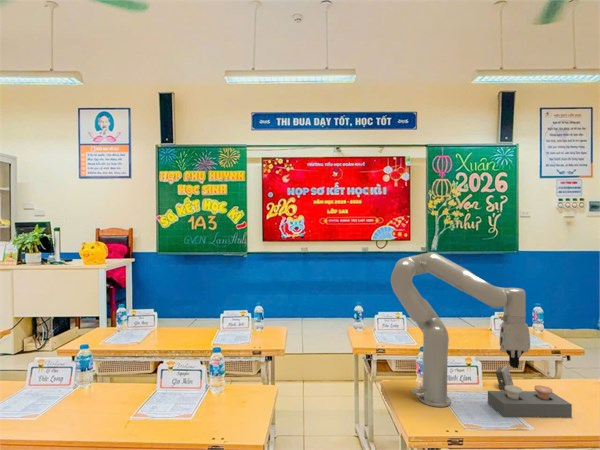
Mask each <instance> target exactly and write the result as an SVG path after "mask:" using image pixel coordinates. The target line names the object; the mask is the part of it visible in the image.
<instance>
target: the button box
mask: <svg viewBox="0 0 600 450" xmlns="http://www.w3.org/2000/svg"><path fill="white" fill-rule="evenodd" d="M487 404H488V405H489V406H490V407H491V406H492V408H493V409H494V411H496V412H497V411H498V412H499V413H498V412H497V413H498V414H500V415H501V416H502V417H503V418H552V419H553V418H556V419H557V418H559V419H560V418H562V419H563V418H566V419H567V418H571V419H572V417H573V416H572V415H573V414H572V411H573V410H572V409H573V408H572V407H573V404H572V403H571V402H569V401H567V400H566V399H564V398H562V397H560V396H559V395H557V394H555V393H554V392H552V394H549V400H540V399H539V398H537V391H535V390H533V391H532V390H527V391H526V390H522V393H521V394H519V400H510V399H509V398H507V391H506V390H487Z"/></svg>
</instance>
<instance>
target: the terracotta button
mask: <svg viewBox="0 0 600 450" xmlns="http://www.w3.org/2000/svg"><path fill="white" fill-rule="evenodd" d="M534 391H537V398H539V399H540V400H549V394H552V393H553V388H550V387H549V386H545V385H535V386H534Z"/></svg>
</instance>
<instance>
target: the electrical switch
mask: <svg viewBox="0 0 600 450" xmlns="http://www.w3.org/2000/svg"><path fill="white" fill-rule="evenodd" d="M495 375H496V379H497V382H498V383H497V384H498V386H499V391H506V390H505V386H506V385H513V386H515V385H514V382H513V378H512V376H511V375H512V374H511V371H510V368H509V366H508V365H507V364H505V365H504V367H498V368H497V370H496V371H495Z"/></svg>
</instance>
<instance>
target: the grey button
mask: <svg viewBox="0 0 600 450" xmlns="http://www.w3.org/2000/svg"><path fill="white" fill-rule="evenodd" d="M513 385H514V384H513ZM513 385H506V386H505V390H504V391H507V398H509V399H510V400H519V394H521V393H522V391H523V388H521V386H520V387H519V386H516V385H514V386H513Z"/></svg>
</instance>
